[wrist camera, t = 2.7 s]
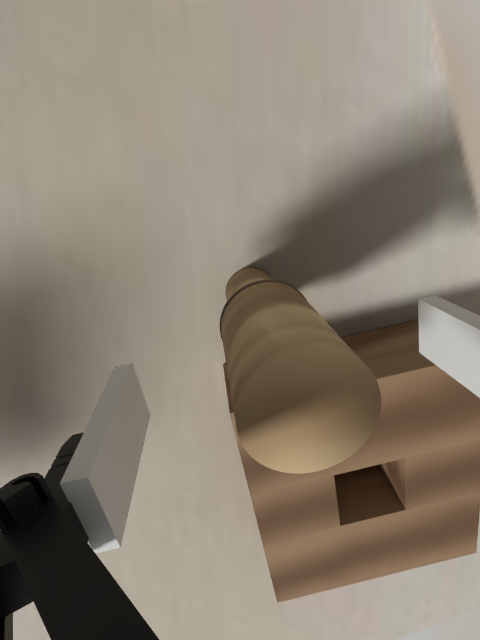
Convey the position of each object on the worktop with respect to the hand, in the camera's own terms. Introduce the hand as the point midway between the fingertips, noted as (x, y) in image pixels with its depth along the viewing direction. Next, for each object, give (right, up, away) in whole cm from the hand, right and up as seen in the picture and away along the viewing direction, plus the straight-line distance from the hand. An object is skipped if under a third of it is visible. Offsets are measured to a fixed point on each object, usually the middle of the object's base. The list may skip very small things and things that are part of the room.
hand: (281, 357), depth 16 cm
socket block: (+6, -8, +14) cm, 17 cm away
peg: (-1, +4, +8) cm, 9 cm away
